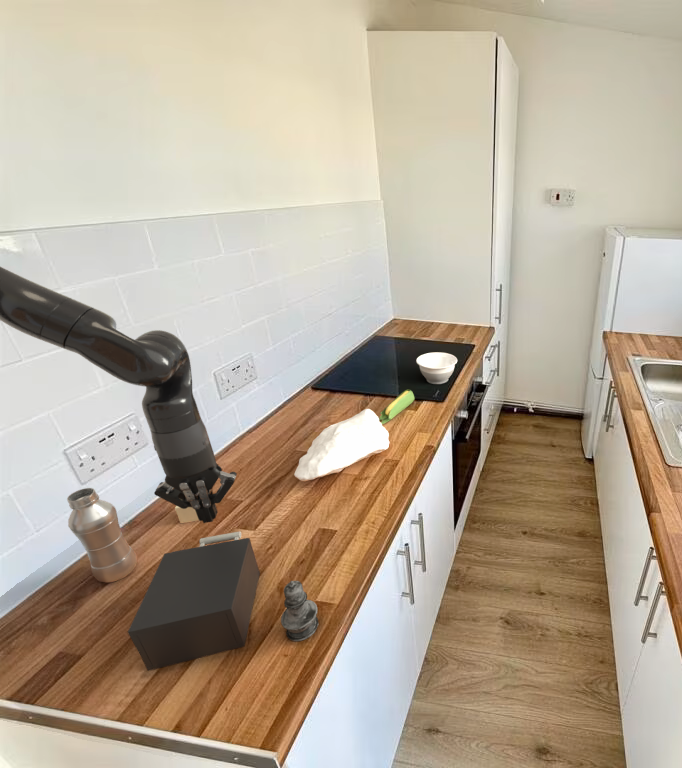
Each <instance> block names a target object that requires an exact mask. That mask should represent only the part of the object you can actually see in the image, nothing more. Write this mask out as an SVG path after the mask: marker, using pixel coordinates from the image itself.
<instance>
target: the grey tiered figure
mask: <svg viewBox="0 0 682 768" xmlns="http://www.w3.org/2000/svg"><path fill="white" fill-rule="evenodd" d="M283 594H284V598H285V600H284V601H283V602H284V603H283V605H284V607H285V610H284V611H283V613H282V614H281V618H280V623H281V626H282V627H283V629H285V630H286V631H285V632H286V633H285V634H286V637H287V639H289V640H290V641H292V642H302V641H305V640H307V639H310V637H312V636H313V635H314V634H315V632H316V631H317V629H318V628H319V627H318V626H319V618H318V617H317V614H318V606H317V604H316V602H315V601H313V600H311V599H308V594H307V593H306V591H304V586H303V583H302V582H301V581H299V580H290V581H289V582H288V583H287V584H286V585H285V586H284V588H283Z"/></svg>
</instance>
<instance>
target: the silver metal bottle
mask: <svg viewBox="0 0 682 768" xmlns="http://www.w3.org/2000/svg"><path fill="white" fill-rule="evenodd" d="M66 500H67V503H68V504H69V508H70V509H71V510H72V511H71V513H70V514H69V517H68V521H67V523H68V525H67V526H68V528H69V530H70V531H71V532H72V533H73V535H74V536H75V537H76V539H78V541H79V542H80V543H81V545H82V547H83V548H84V550H85V552H86V555H87V558H88V560H89V563H90V569H91V574H92V576H93V578H95V580H96V581H98V582H101V583H108V584H109V583H113V582H117V581H120V580H122V579H124V578H125V577H127V576H128V575H130V574H131V573H133V571H134V569H135V568H136V566H137V564H138V556H137V553H136V551H135V549H133V548H132V546H130V544H129V543H128V541H127V539H126V538H125V535H124V534H123V532H122V529H121V526H120V523H119V518H118V513H117V509H116V507H115V505H113V503H111V502H109V501H106V500H103V499H100V495H99V494H98V493H97V491H96V489H94V488H93V487H85V488H80V489H78V490H76V491H73V492H71V494H69V495H68V496H67V498H66Z"/></svg>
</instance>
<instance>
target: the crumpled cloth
mask: <svg viewBox="0 0 682 768" xmlns="http://www.w3.org/2000/svg"><path fill="white" fill-rule="evenodd" d="M379 419H380V417H379V416H378V415H377V414H376V413H375V412H374V411H373V410H372V409H370V408H365V409H363V410H361V411H360V412H358V413H357V414H354V415H353V416H351V417H350V418H347V419H344V420H342V421H339V422H337V423H333V424H331V425H329V426H328V427H325V428H324V429H323V430H322V431H321V432H320V433H319V435H318V436H316V438H314V439H313V440H312V442H311V445H310V447H309V448H307V451H306V454H304V455H302V456H301V457H300V458H299V460H298V466H297V467H296V469H295V471H294V474H293V477H295V478H296V479H298V480H299V481H301V482H308V481H313V480H315V479H317V478H323V477H325V476H330V475H331V474H339V473H340V472H341V471H343V470H344V469H345V468H348V467H349V466H351V465H353V464H355V463H357V462H360V461H362V460H363V459H367V458H369V457H371V456H374V455H376V454H380V453H383V452H385V451H386V450H388V449H389V448H390V447H389V446H390V439H389V437H390V433H389V431H388V430H387V429H386V427H384V426H383V424H382V423H381V422H382V421H380V420H379Z"/></svg>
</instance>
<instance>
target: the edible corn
mask: <svg viewBox="0 0 682 768" xmlns="http://www.w3.org/2000/svg"><path fill="white" fill-rule="evenodd" d="M414 401H415V394H414V393H413V391H412V390H411V389H405V390H404V391H402V392H401V393H400V394H399V395H398V396H396V398H394V400H392V401H391V402H390V403H389V404H388V405H387V406H386V407H385V408H384V409H383V410H381V412H380V413H379V414H380V416H379V421H380V422H381V423H382V425H384V424H386V423H388V422H390V421H391V420H393V419H394V418H395V417H396V416H397V415H398V414H400V413H401V412H403V411H404V410H406V409H407V408H408V407H409V406H410V405H412V403H413V402H414Z"/></svg>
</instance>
